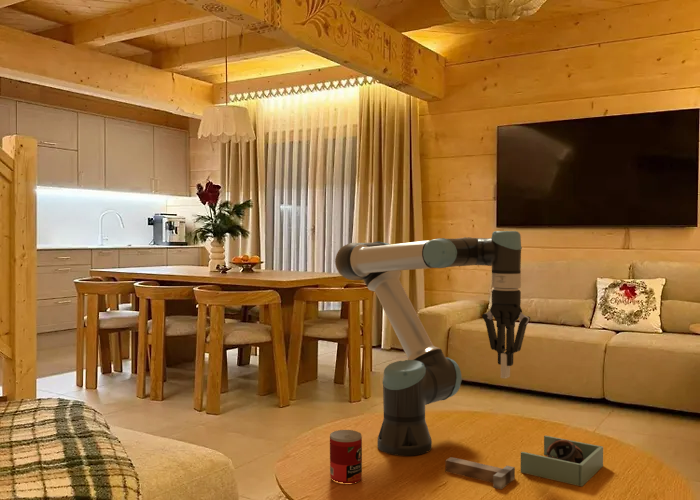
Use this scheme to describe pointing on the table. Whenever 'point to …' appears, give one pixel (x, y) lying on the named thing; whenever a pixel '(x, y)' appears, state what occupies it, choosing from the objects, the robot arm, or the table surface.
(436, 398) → the robot arm
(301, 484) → the table surface
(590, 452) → the green u-shaped frame
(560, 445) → the pottery mug
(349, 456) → the canned food
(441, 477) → the table surface
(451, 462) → the hammer
